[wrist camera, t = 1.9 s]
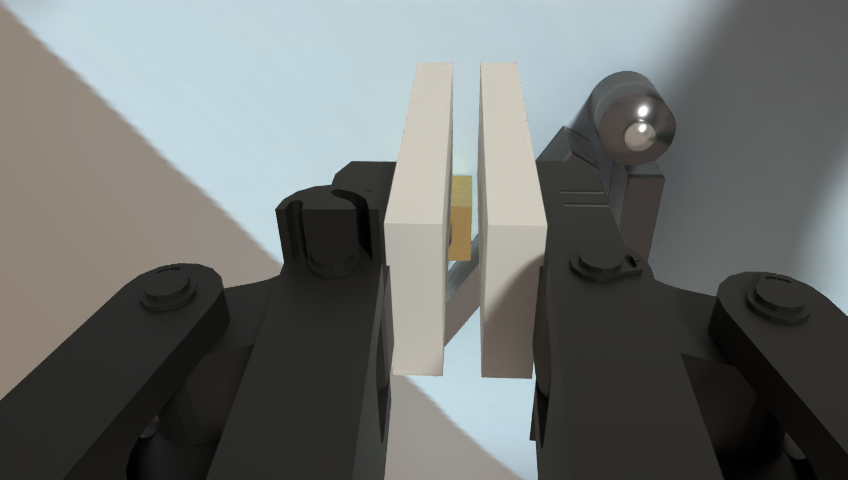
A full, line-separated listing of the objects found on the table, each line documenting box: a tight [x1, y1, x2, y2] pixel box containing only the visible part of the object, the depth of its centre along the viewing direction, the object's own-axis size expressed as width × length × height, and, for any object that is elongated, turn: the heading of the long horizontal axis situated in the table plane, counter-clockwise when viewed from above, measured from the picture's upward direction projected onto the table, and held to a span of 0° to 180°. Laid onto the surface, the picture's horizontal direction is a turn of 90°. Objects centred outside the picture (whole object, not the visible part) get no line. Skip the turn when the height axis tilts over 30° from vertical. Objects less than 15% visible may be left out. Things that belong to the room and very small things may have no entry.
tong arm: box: [444, 126, 600, 347], centre depth 43 cm, size 19×2×4 cm, turn 149°
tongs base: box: [588, 71, 676, 262], centre depth 42 cm, size 24×4×5 cm, turn 1°
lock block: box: [448, 176, 472, 261], centre depth 42 cm, size 4×4×5 cm
